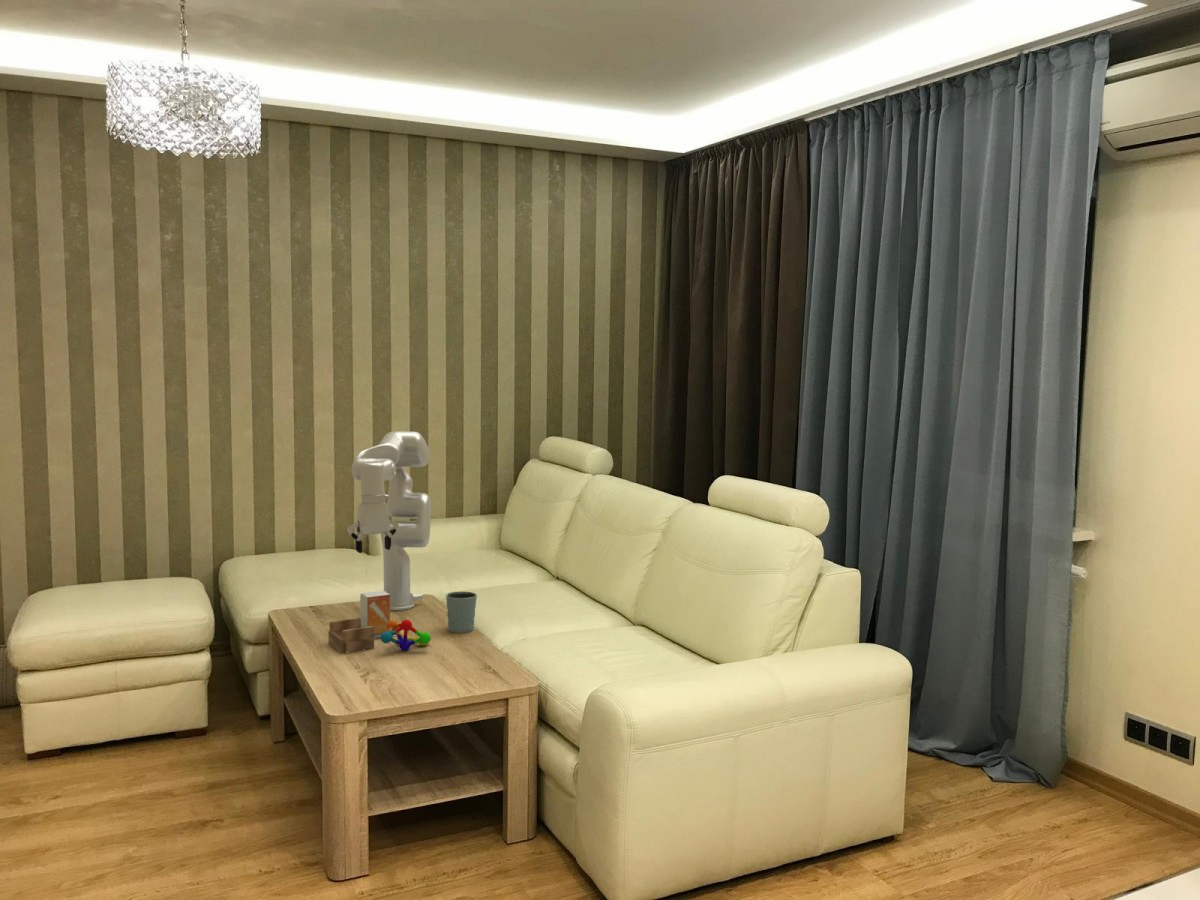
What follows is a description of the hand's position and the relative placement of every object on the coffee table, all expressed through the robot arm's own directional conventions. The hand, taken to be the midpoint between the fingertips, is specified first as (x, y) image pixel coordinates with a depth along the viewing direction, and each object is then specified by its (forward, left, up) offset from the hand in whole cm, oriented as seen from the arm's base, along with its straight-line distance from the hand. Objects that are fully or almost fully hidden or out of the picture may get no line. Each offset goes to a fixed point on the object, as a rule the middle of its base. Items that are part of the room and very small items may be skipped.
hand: (373, 550), depth 337 cm
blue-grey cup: (-27, +10, -28) cm, 40 cm away
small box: (0, 0, -28) cm, 28 cm away
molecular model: (-3, +22, -28) cm, 36 cm away
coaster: (0, 0, -28) cm, 28 cm away
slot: (+11, +9, -28) cm, 31 cm away
